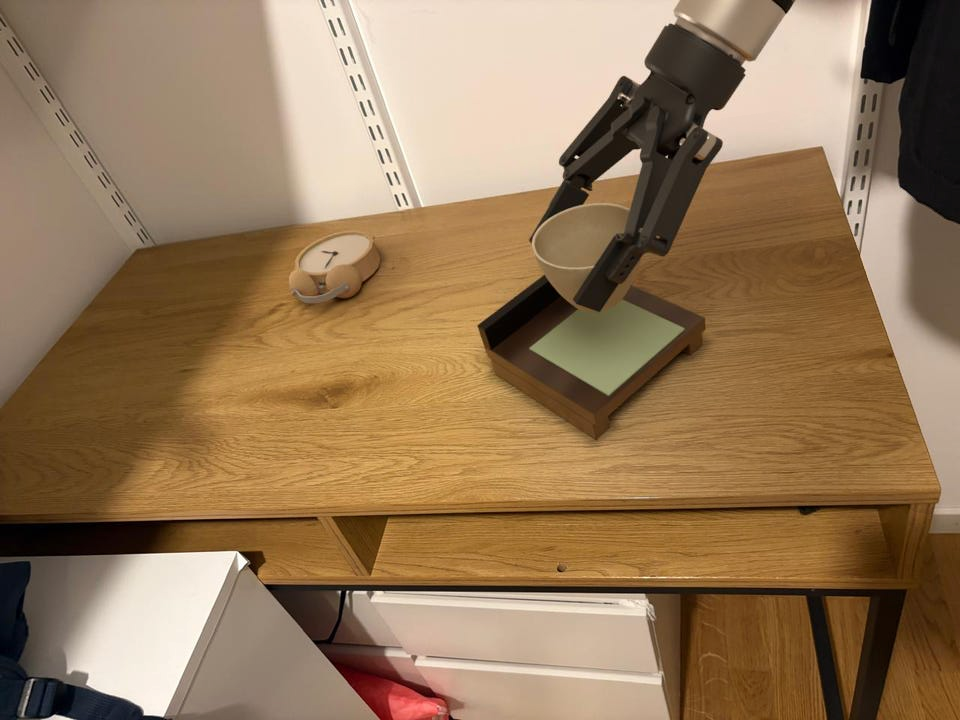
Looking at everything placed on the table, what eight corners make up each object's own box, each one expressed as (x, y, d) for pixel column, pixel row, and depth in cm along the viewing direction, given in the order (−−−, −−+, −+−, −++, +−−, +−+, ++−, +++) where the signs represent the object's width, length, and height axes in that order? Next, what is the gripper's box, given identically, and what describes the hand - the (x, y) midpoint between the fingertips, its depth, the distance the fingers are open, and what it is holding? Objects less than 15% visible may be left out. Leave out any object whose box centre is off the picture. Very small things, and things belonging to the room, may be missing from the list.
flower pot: (625, 339, 66) (615, 276, 61) (528, 319, 71) (512, 260, 66) (668, 270, 71) (661, 207, 66) (574, 256, 76) (562, 197, 71)
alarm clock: (384, 225, 104) (345, 276, 92) (393, 257, 106) (357, 310, 95) (313, 233, 107) (266, 283, 95) (324, 264, 110) (280, 316, 98)
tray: (707, 346, 76) (703, 294, 71) (600, 442, 70) (589, 392, 66) (593, 293, 87) (584, 244, 82) (492, 372, 81) (476, 325, 77)
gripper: (831, 111, 52) (649, 356, 61) (671, 28, 69) (548, 230, 78) (764, 64, 48) (581, 334, 58) (612, -12, 65) (490, 206, 74)
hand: (562, 274), depth 68 cm, fingers closed on flower pot, 10 cm apart
